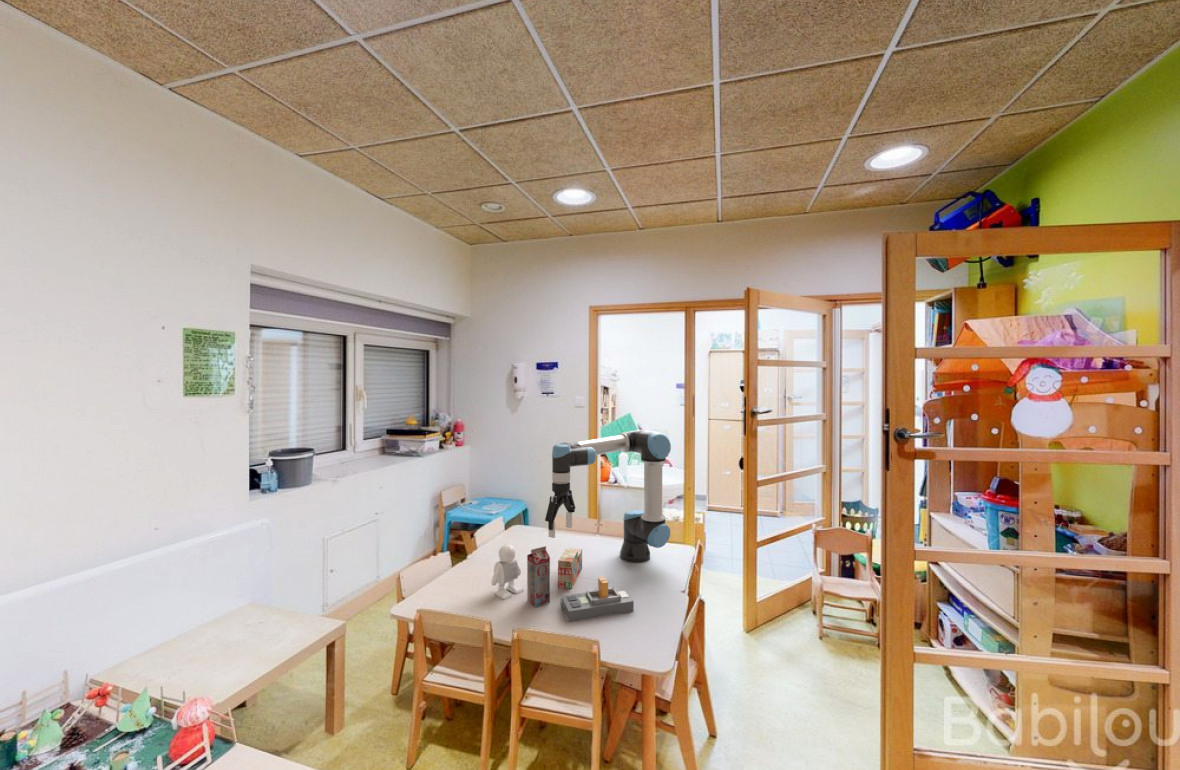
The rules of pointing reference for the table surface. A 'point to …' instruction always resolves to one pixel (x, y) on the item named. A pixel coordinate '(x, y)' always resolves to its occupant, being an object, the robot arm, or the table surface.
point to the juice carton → (538, 577)
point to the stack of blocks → (569, 567)
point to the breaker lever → (602, 587)
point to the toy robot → (506, 572)
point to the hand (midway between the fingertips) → (560, 532)
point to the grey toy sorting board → (596, 604)
